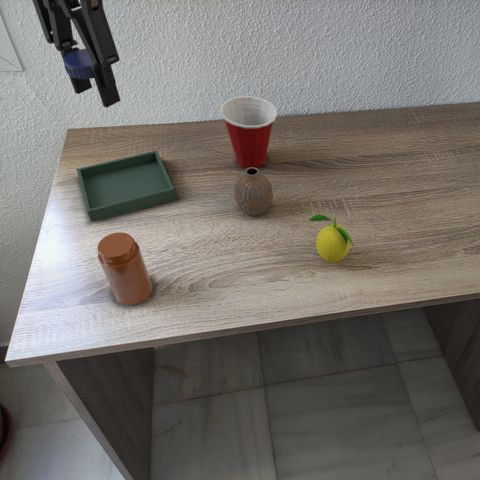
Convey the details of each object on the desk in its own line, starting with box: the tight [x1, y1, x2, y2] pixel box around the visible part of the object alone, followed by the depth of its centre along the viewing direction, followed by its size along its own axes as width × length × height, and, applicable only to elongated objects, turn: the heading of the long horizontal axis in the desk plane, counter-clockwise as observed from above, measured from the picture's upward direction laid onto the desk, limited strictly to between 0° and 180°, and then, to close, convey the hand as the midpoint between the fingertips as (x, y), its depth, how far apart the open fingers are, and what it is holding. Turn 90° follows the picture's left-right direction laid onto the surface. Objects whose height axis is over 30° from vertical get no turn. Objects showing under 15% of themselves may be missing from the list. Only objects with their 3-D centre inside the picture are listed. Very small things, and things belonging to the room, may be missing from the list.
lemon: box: [308, 213, 355, 263], centre depth 76 cm, size 7×6×10 cm
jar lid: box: [62, 48, 94, 80], centre depth 71 cm, size 6×6×2 cm
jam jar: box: [97, 231, 154, 306], centre depth 69 cm, size 6×6×11 cm
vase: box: [233, 167, 274, 217], centre depth 84 cm, size 7×7×9 cm
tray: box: [76, 150, 178, 223], centre depth 89 cm, size 15×13×2 cm
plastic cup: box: [219, 95, 278, 169], centre depth 93 cm, size 11×11×12 cm
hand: (97, 96), depth 75 cm, fingers closed on jar lid, 6 cm apart
